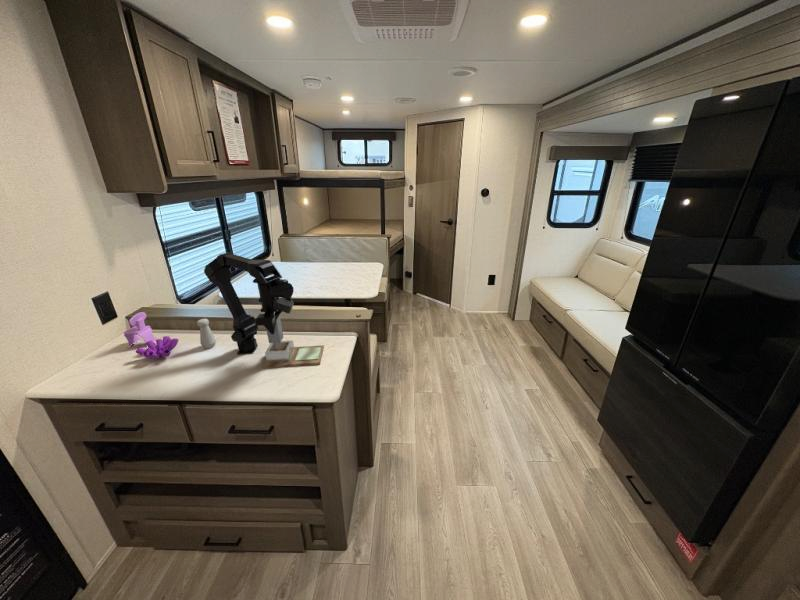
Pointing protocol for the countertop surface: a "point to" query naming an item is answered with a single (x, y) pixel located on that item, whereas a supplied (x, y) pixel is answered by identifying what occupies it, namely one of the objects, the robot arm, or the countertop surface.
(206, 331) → the salt shaker
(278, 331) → the steel key
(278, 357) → the socket
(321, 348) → the stand board
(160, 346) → the purple coral
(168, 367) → the countertop surface
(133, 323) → the toy chair
